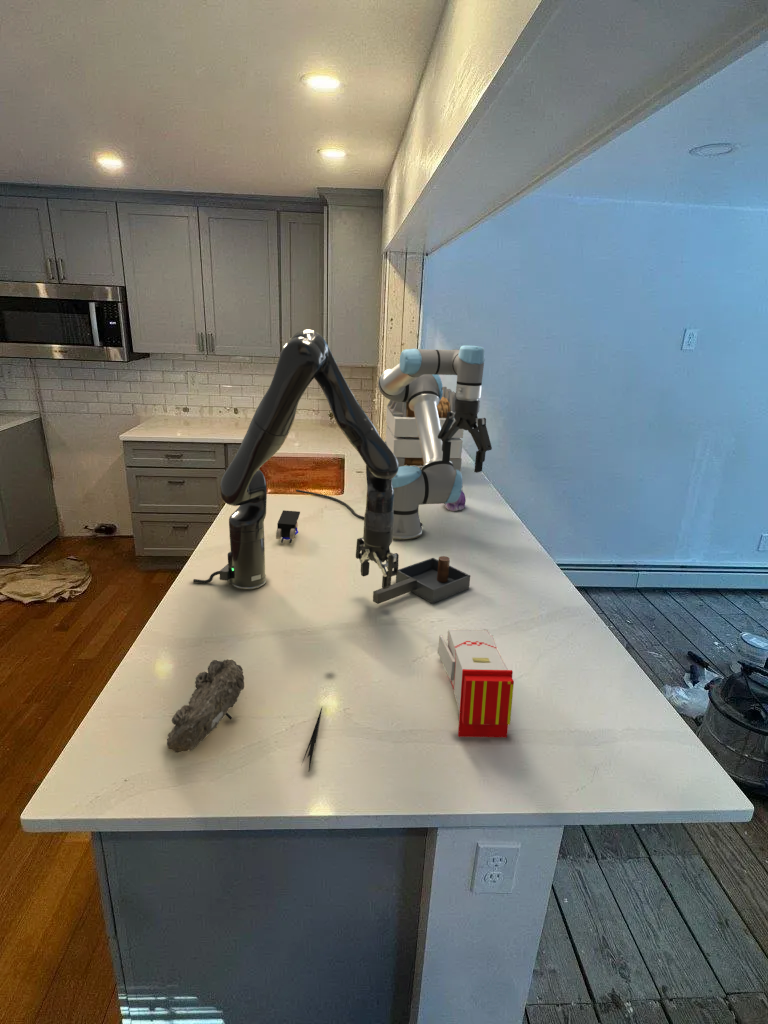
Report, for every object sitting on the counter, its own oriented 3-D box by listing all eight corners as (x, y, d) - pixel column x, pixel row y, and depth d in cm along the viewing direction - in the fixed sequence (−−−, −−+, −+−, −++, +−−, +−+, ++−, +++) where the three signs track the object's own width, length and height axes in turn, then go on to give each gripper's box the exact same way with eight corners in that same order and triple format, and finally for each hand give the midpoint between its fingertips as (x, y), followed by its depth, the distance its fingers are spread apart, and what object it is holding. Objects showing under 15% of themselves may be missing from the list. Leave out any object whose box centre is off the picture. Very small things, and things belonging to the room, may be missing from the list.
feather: (331, 679, 122) (336, 673, 122) (307, 777, 96) (313, 769, 95) (324, 675, 122) (329, 669, 121) (298, 772, 95) (304, 764, 95)
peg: (434, 579, 166) (436, 557, 163) (441, 576, 168) (443, 555, 166) (442, 583, 164) (444, 561, 161) (450, 580, 166) (452, 558, 163)
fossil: (192, 660, 117) (244, 628, 112) (224, 691, 120) (276, 661, 115) (142, 746, 98) (202, 712, 93) (182, 779, 101) (242, 748, 96)
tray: (393, 619, 145) (394, 604, 143) (357, 596, 155) (357, 582, 154) (469, 588, 163) (470, 574, 161) (432, 569, 173) (433, 556, 172)
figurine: (452, 513, 222) (455, 476, 217) (438, 505, 231) (441, 469, 226) (471, 510, 227) (475, 474, 221) (457, 502, 235) (460, 467, 230)
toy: (488, 613, 130) (523, 677, 101) (484, 667, 133) (517, 744, 104) (435, 612, 130) (455, 676, 101) (432, 666, 133) (451, 743, 103)
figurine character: (295, 549, 186) (301, 528, 200) (295, 529, 183) (300, 509, 196) (275, 549, 186) (282, 527, 199) (274, 528, 183) (281, 508, 196)
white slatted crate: (382, 463, 289) (386, 382, 275) (445, 464, 293) (451, 384, 279) (390, 482, 257) (394, 392, 243) (460, 483, 261) (468, 394, 247)
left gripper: (349, 519, 147) (347, 575, 153) (386, 537, 138) (382, 596, 143) (371, 513, 152) (368, 568, 158) (408, 530, 142) (403, 588, 148)
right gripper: (429, 393, 178) (425, 459, 185) (492, 406, 160) (484, 478, 167) (446, 392, 183) (441, 456, 190) (508, 404, 165) (500, 474, 172)
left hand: (375, 581), depth 150 cm, fingers open, 8 cm apart
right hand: (461, 466), depth 179 cm, fingers open, 13 cm apart
